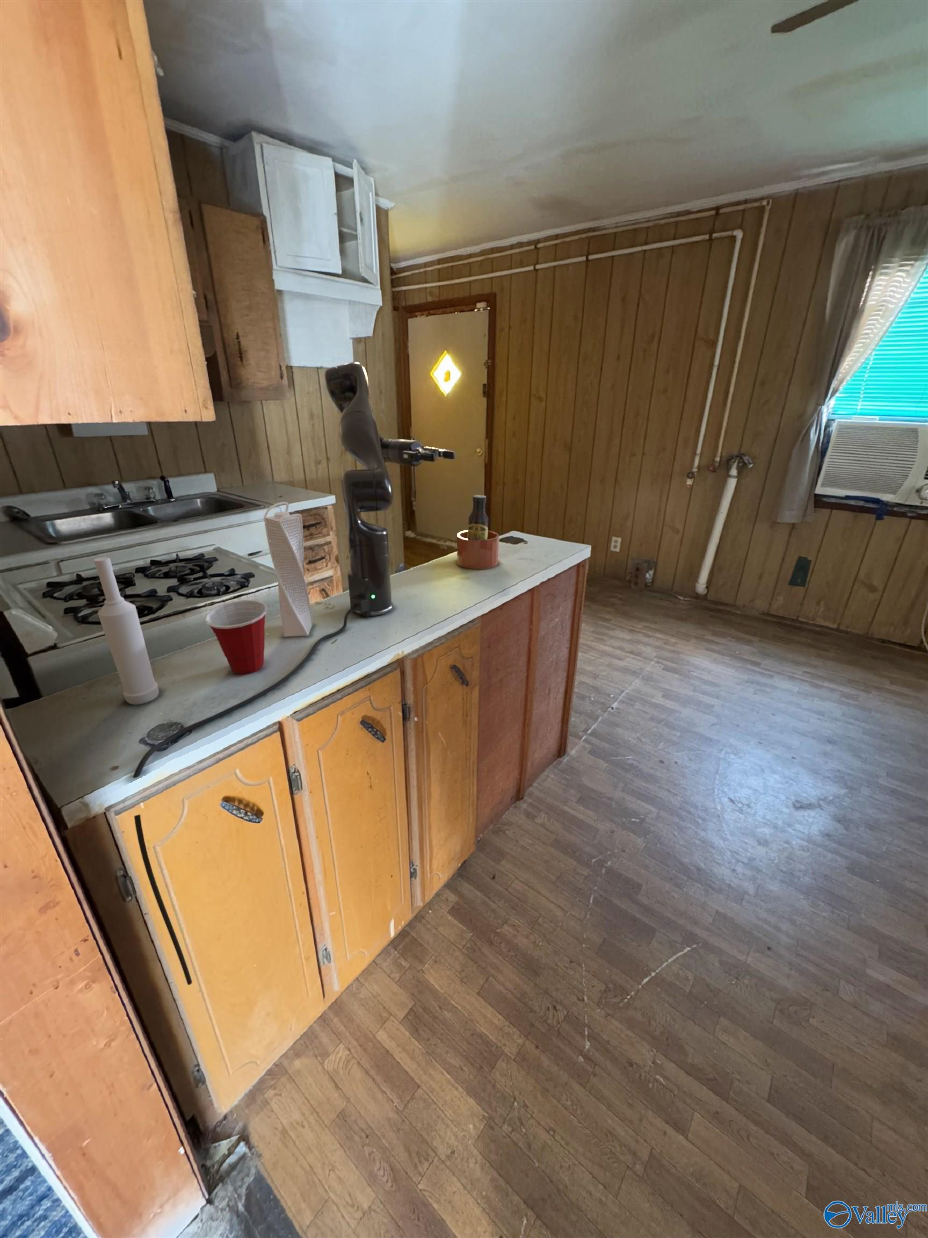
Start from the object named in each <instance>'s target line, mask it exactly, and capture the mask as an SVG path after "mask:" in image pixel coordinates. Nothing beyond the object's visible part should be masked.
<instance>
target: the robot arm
mask: <svg viewBox="0 0 928 1238" xmlns="http://www.w3.org/2000/svg"><path fill="white" fill-rule="evenodd" d="M323 376H324V383H325V387H326V390H327V392H328V395H329V397H330V399H331V401H332V402H333V404H334V406H335V407H336V409H337V410H338V412H339V413H340V417H339V422H338V429H339V434H340V435H339V436H340V441H341V442H340V443H341V444H342V447H343V449H344V450H345V451H346V452H347V454H348V455H349V456H351V457H352V458H353V459H354V460H356V461H357V462H358V463H360V465H362V466H363V467H365V469H363V468H362V469H349V470H348V469H347V470H345V471H343V473H342V476H341V492H342V499H343V507H344V512H345V520H346V532H347V533H346V534H347V544H348V554H349V556H348V557H349V565H350V573H348V574H347V583H348V593H349V605H350V608H349V610H348V611H347V612H346V613H345V615H344V618H343V625H342V627H341V628H339V629H338V630H337V631H334V632H332V633H329V634H326V635H324V636H322V637H321V638H319V639H318V640H317V641H316V642H315V643H314V645H313V646H312V648H311V649H310V651H308V654H307V655H306V656H305V657H304V658H303V659H302V660H301V662H300V663H299V664H298V665H297V666H296V667H295V668H294V669H292V670H291V671H290V672H289V673H288V674H286V675H285V676H284V677H282V678H281V679H280V680H278V681H277V682H275V683H274V684H272V685H270V686H269V687H266V688H265V689H263V690H262V691H259V692H258V693H257V694H254V695H253V696H251V697H248V698H247V699H246V700H243V701H241V702H238V703H237V704H235V705H232V706H230V707H228V708H226V709H224V710H222V711H219V712H218V713H216V714H213V715H211V716H208V717H206V718H204V719H202V720H199V721H197V722H195V723H192V724H190V725H188V726H185V727H184V728H182V729H180V730H178V731H176V732H174V733H173V734H171V735H170V736H168V737H166V738H165V739H163V740H162V741H160V742H159V743H157V744H155V745H154V746H152V747H151V748H150V749H148V751H147V752H146V753H145V754H144V755H143V757H141V759H140V761H139V763H138V764H137V766H136V768H135V770H134V773H133V776H132V777H133V778H134V779H136V778H138V777H140V775H141V774H142V771H143V770H144V768H145V765H146V764H147V762H148V760H149V759H150V758H151V756H153V754H154V753H155V752H157V751H158V750H160V749H161V748H163V747H164V746H166V745H168V744H169V743H171V742H172V741H175V739H177V738H179V737H180V736H182V735H184V734H186V733H187V732H190V731H192V730H194V729H197V728H199V727H201V726H204V725H206V724H208V723H211V722H213V721H215V720H217V719H219V718H221V717H224V716H225V715H228V714H230V713H232V712H234V711H236V710H239V709H240V708H242V707H245V706H246V705H248V704H250V703H252V702H254V701H256V700H258V699H260V698H261V697H263V696H265V695H267V694H268V693H270V692H272V691H273V690H275V689H277V688H278V687H280V686H281V685H282V684H284V683H285V682H286V681H288V680H289V679H290V678H291V677H292V676H294V675H295V674H296V673H297V672H299V670H301V668H303V667H304V665H305V664H306V663H307V662H308V661H309V660H310V659H311V657H312V656H313V655H314V653H315V651H316V649H317V648H318V646H320V644H321V643H323V642H324V641H325V640H327V639H330V638H332V637H335V636H337V635H340V634H342V633H343V631H345V629H346V628H347V625H348V619H349V616H350V615H351V613H352V612H353V613H355V614H357V615H359V616H362V617H365V618H369V617H375V616H382V615H385V614H387V613H390V612H391V611H392V610H393V607H394V606H393V598H392V584H391V583H392V581H391V565H390V563H391V561H390V547H389V531H388V529H387V528H386V527H385V526H384V525H381V524H378V523H374V522H371V521H369V520H367V519H365V518H363V517H362V516H361V515H360V514H361V513H373V512H383V511H384V512H385V511H388V510H389V509H390V508H391V506H392V504H393V500H394V499H393V498H394V495H393V493H394V492H393V487H392V486H393V485H392V482H391V478H390V475H389V472H388V467H387V466H386V463H391V464H396V465H399V466H407V467H419V466H420V465H421V464H422V463H424V462H429V463H430V462H431V463H434V462H436V461H439V460H440V459H443V460H455V459H456V451H454V450H449V449H448V448H438V447H429V446H424V445H423V444H422V443H421V442H420V440H413V439H402V438H401V439H393V438H392V439H391V438H384V437H383V436H382V435H381V434H380V433H379V430H378V425H377V420H376V417H375V413H374V409H373V405H372V398H371V390H370V388H371V387H370V382H369V377H368V374H367V372H366V369H365V367H364V366H363V365H362V364H361V363H360V362H357V361H352V362H347V363H343V364H339V365H335V366H331V367H329V368H327V369H326V370H324V375H323ZM133 817H134V819H133V820H134V825H135V826H134V827H135V831H136V837H137V841H138V842H137V843H138V846H139V850H140V855H141V858H142V861H143V866H144V869H145V872H146V875H147V878H148V882H149V884H150V887H151V890H152V893H153V895H154V898H155V901H156V904H157V906H158V908H159V911H160V914H161V916H162V920H163V922H164V925H165V926H166V930H167V931H168V935H169V937H170V940H171V942H172V944H173V947H174V950H175V952H176V955H177V957H178V960H179V963H180V966H181V969H182V972H183V975H184V978H185V980H186V984H187V985H188V986H190V985H192V983H193V980H192V977H191V973H190V971H189V968H188V964H187V962H186V959H185V956H184V953H183V950H182V948H181V946H180V942H179V939H178V938H177V934H176V932H175V929H174V926H173V925H172V922H171V919H170V916H169V914H168V912H167V909H166V906H165V903H164V901H163V898H162V895H161V892H160V889H159V887H158V884H157V881H156V878H155V875H154V871H153V868H152V865H151V862H150V858H149V855H148V854H149V853H148V850H147V846H146V842H145V836H144V831H143V826H142V819H141V818H142V817H141V814H137V815H134V816H133Z"/></svg>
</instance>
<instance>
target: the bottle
mask: <svg viewBox="0 0 928 1238" xmlns="http://www.w3.org/2000/svg"><path fill="white" fill-rule="evenodd" d="M93 562H94V564H95V569H96V572H97V574H98V577H99V581H100V584H101V587H102V591H103V594H104V597H105V600H104V605H103V606H102V607H101V608H100V609H99V611H98V612H97V616H98V618H99V621H100V624H101V627H102V630H103V633H104V636H105V638H106V641H107V644H108V647H109V650H110V653H111V656H112V659H113V661H114V664H115V668H116V670H117V674H118V676H119V678H120V679H119V680H120V683H121V685H122V688H123V691H122V693H123V697H124V699H125V701H126V702H127V703H128V704H130V705H136V706H137V705H142V704H147V703H149V702H150V701H153V700H155V699H156V698H158V696H159V694H160V689H159V685H158V682H156V681H155V677H154V673H153V669H152V666H151V662H150V657H149V653H148V650H147V646H146V642H145V639H144V635H143V631H142V625H141V622H140V619H139V614H138V610H137V608H136V605H135V604H134V603H132V602H129V601H126V600H125V598H124V597H122V596H121V593H120V590H119V587H118V583H117V580H116V577H115V573H114V568H113V564H112V561H111V558H110V557H109V556H102V557H96V558H94V559H93Z"/></svg>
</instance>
